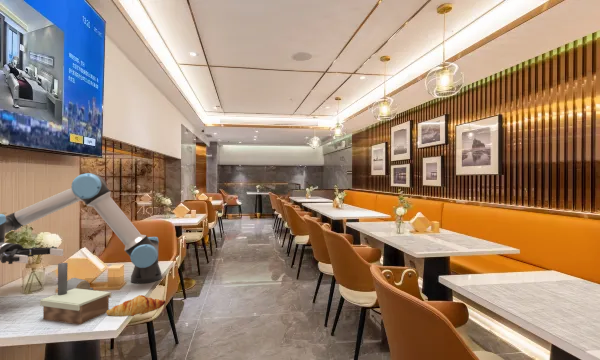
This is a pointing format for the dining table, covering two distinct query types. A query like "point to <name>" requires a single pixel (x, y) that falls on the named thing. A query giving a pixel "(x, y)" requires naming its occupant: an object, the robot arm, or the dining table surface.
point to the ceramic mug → (78, 284)
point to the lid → (70, 294)
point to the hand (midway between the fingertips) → (45, 255)
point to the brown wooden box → (78, 312)
